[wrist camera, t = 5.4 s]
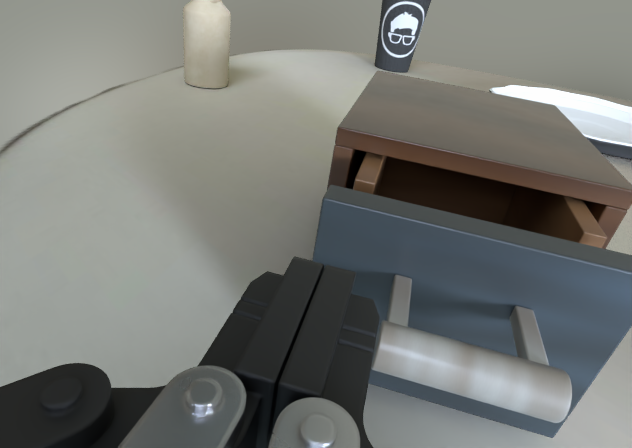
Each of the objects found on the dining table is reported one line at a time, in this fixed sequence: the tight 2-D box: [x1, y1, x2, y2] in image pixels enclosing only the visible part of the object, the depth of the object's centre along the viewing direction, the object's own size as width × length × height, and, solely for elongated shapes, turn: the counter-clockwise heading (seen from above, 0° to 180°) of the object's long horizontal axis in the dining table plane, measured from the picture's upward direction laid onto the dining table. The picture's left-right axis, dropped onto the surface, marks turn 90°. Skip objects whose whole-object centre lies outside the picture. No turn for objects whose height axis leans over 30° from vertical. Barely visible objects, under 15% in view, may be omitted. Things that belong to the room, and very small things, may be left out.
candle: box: [183, 0, 231, 88], centre depth 54 cm, size 6×6×10 cm
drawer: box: [312, 152, 632, 438], centre depth 19 cm, size 16×10×8 cm, turn 166°
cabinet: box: [327, 71, 632, 249], centre depth 25 cm, size 14×12×10 cm
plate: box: [489, 85, 632, 159], centre depth 63 cm, size 29×29×2 cm
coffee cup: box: [375, 0, 431, 72], centre depth 80 cm, size 10×10×15 cm
